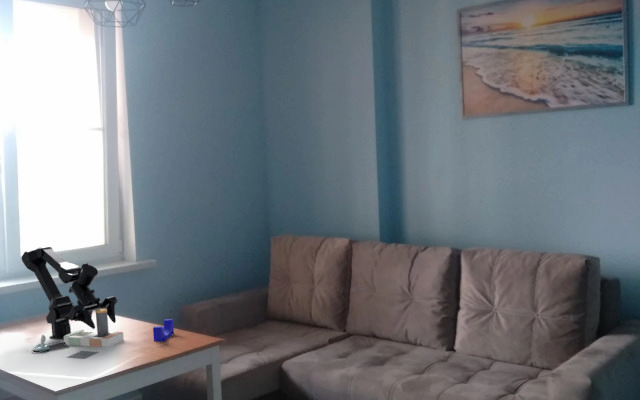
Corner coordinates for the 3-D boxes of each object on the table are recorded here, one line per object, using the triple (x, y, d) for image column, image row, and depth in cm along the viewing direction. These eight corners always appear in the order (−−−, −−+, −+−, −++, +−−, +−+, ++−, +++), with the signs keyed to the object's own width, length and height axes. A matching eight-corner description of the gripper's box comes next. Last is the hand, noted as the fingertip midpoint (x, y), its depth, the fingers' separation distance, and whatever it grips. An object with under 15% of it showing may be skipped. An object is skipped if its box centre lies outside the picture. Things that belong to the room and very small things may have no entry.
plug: (96, 346, 248) (94, 311, 247) (99, 343, 252) (97, 309, 251) (107, 345, 248) (105, 310, 247) (110, 342, 252) (108, 308, 252)
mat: (66, 359, 234) (65, 357, 233) (81, 352, 241) (81, 350, 241) (84, 360, 231) (84, 358, 231) (99, 353, 238) (99, 351, 238)
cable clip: (163, 334, 261) (161, 319, 260) (174, 334, 260) (172, 319, 260) (150, 343, 249) (149, 327, 249) (161, 343, 248) (160, 327, 248)
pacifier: (33, 356, 240) (50, 352, 243) (31, 339, 239) (48, 336, 242) (30, 352, 246) (47, 348, 249) (28, 335, 246) (45, 331, 249)
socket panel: (63, 346, 251) (62, 336, 251) (80, 339, 260) (79, 329, 259) (107, 348, 244) (107, 338, 244) (123, 341, 253) (122, 331, 252)
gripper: (96, 302, 266) (116, 332, 260) (54, 312, 250) (74, 345, 245) (107, 283, 261) (128, 314, 255) (65, 293, 245) (86, 326, 240)
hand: (104, 325), depth 249 cm, fingers open, 9 cm apart
